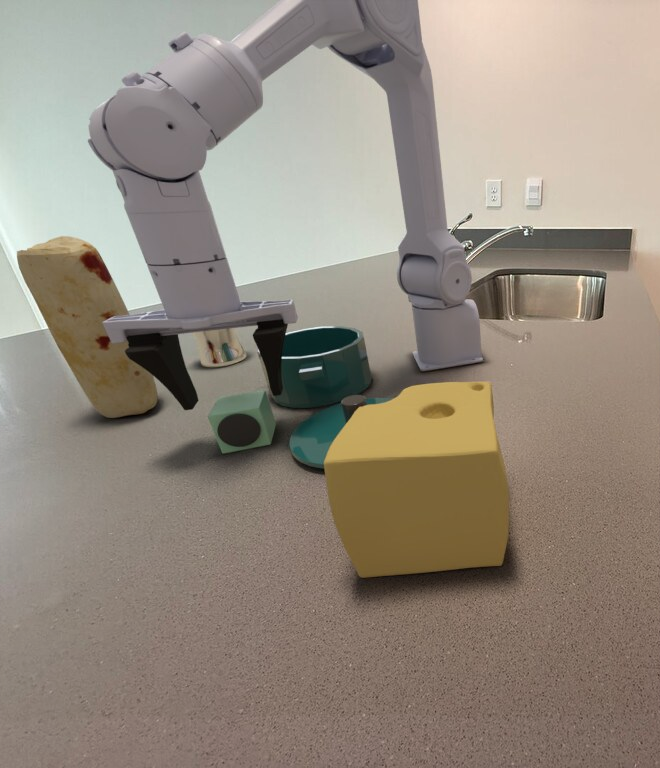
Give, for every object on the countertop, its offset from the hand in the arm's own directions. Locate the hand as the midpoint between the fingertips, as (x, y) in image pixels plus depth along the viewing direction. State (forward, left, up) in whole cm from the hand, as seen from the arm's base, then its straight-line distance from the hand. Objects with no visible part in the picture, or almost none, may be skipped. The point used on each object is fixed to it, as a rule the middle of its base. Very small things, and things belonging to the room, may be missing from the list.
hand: (236, 398), depth 41 cm
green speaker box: (0, 0, -5) cm, 5 cm away
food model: (+15, -14, -5) cm, 21 cm away
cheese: (-16, +20, -5) cm, 26 cm away
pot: (-7, -11, -5) cm, 14 cm away
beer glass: (+8, -28, -5) cm, 30 cm away
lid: (-11, +4, -4) cm, 13 cm away
